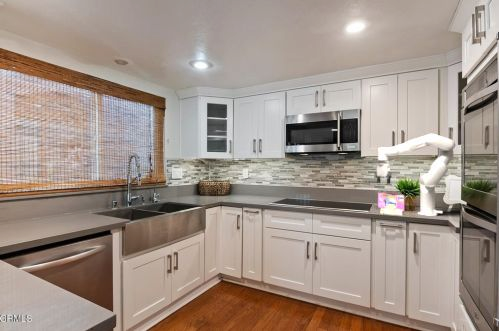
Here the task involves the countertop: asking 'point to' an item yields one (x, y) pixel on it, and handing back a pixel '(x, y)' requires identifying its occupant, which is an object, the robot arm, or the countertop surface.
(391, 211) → the trap board
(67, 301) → the countertop surface
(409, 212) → the countertop surface
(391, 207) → the block
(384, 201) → the gum box
